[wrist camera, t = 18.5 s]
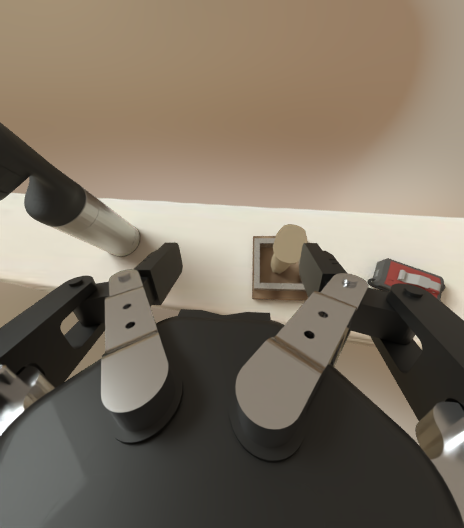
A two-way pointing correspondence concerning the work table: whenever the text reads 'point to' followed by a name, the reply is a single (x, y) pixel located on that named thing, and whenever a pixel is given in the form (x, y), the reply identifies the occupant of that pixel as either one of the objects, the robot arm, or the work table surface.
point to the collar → (257, 285)
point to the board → (276, 277)
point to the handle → (287, 247)
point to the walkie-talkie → (405, 277)
